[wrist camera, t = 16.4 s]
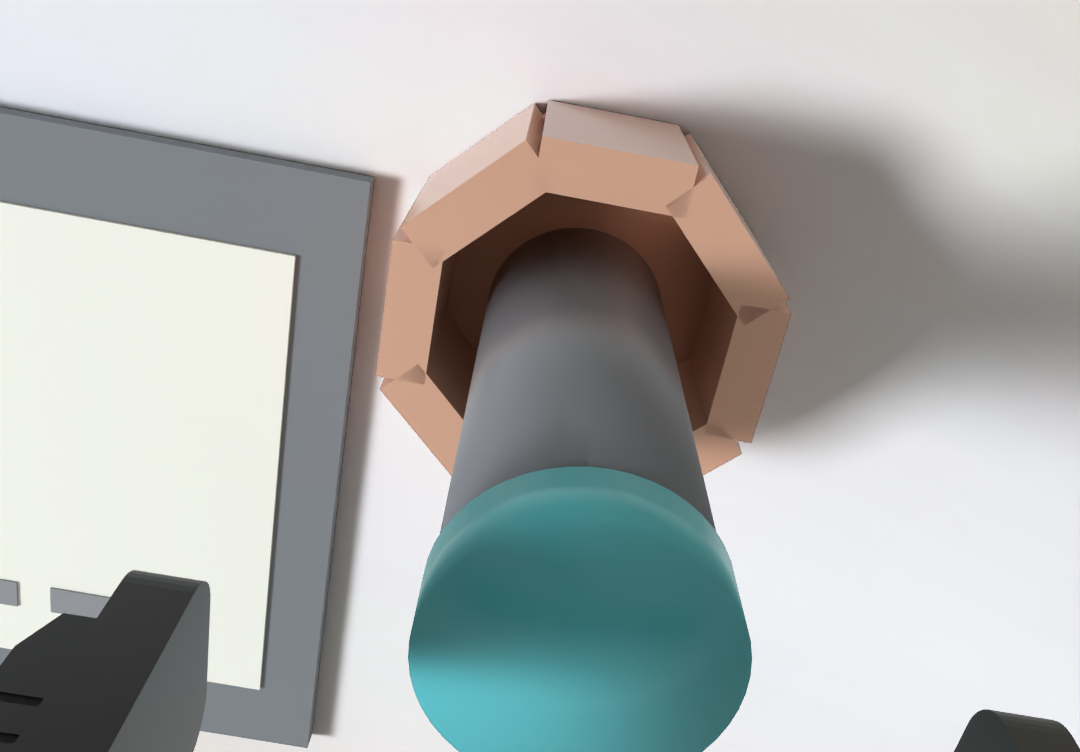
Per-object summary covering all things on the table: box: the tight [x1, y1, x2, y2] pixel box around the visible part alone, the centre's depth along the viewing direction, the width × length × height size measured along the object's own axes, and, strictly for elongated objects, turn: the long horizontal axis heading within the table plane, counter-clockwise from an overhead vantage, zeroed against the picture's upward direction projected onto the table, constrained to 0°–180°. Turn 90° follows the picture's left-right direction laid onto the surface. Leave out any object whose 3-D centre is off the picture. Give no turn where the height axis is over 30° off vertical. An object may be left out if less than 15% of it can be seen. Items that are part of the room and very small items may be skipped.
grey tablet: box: [0, 107, 374, 748], centre depth 25 cm, size 17×13×1 cm
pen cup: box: [376, 100, 791, 476], centre depth 22 cm, size 8×8×4 cm
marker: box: [408, 228, 752, 752], centre depth 17 cm, size 4×4×12 cm
